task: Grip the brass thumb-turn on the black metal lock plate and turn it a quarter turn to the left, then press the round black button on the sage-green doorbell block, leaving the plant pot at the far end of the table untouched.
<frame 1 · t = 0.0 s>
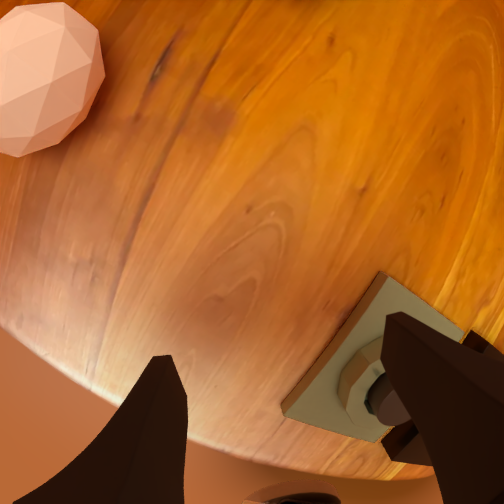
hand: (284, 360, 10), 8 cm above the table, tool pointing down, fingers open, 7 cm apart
bell button: (398, 396, 16), point 3 cm above the table, slide at 0.1 cm
lock plate: (452, 401, 22), on the table
geometric ball: (64, 93, 14), on the table
doorbell: (376, 367, 20), on the table
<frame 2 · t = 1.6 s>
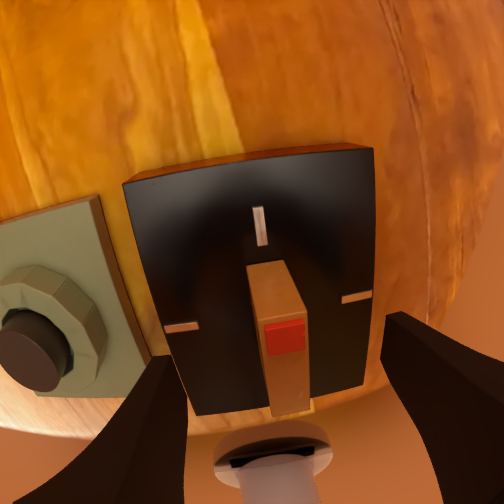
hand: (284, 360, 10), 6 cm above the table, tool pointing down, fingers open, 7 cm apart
lock turn: (279, 341, 11), point 4 cm above the table, hinge at 0.0°
bell button: (31, 352, 11), point 3 cm above the table, slide at 0.1 cm
lock plate: (262, 282, 15), on the table
doorbell: (58, 311, 14), on the table
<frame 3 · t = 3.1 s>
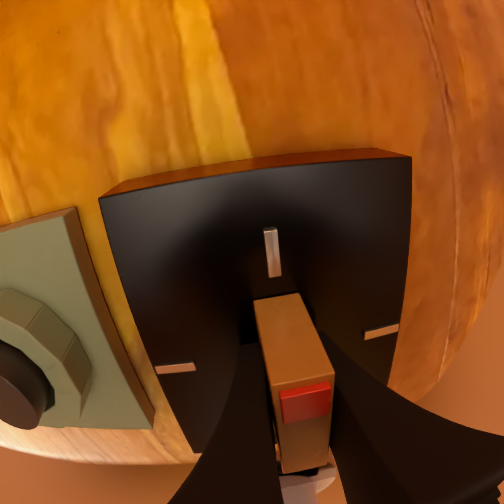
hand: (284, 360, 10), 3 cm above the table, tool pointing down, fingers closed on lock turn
lock turn: (293, 391, 9), point 4 cm above the table, hinge at 0.5°, touching gripper
bell button: (8, 386, 9), point 3 cm above the table, slide at 0.1 cm
lock plate: (270, 311, 13), on the table
doorbell: (38, 336, 12), on the table
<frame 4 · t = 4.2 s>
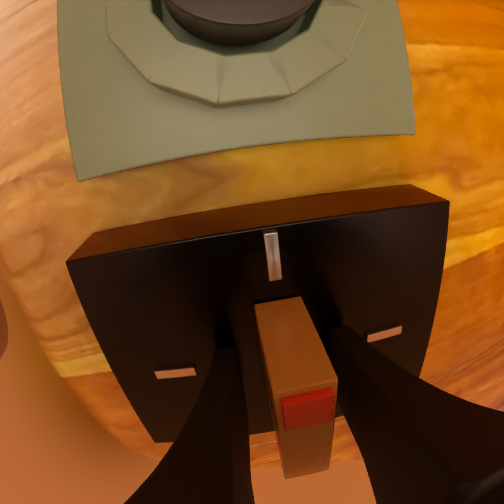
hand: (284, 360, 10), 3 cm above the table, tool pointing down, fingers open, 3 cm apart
lock turn: (294, 396, 8), point 4 cm above the table, hinge at 90.0°
lock plate: (271, 313, 12), on the table
doorbell: (231, 16, 8), on the table
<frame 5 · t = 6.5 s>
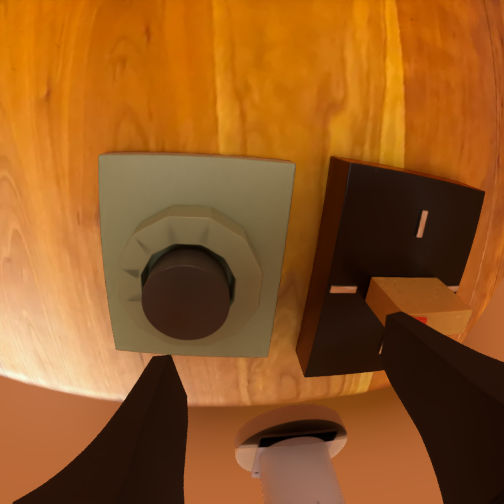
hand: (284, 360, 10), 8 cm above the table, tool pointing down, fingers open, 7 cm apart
lock turn: (420, 307, 14), point 4 cm above the table, hinge at 90.0°
bell button: (186, 294, 13), point 3 cm above the table, slide at 0.1 cm
lock plate: (382, 268, 18), on the table
doorbell: (191, 260, 16), on the table
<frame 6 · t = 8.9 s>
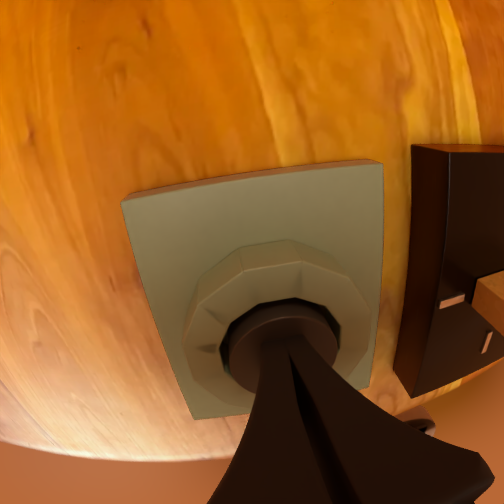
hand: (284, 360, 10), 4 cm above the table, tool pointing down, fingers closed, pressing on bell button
bell button: (280, 345, 11), point 3 cm above the table, slide at -0.7 cm, touching gripper
lock plate: (473, 260, 14), on the table
doorbell: (269, 304, 13), on the table
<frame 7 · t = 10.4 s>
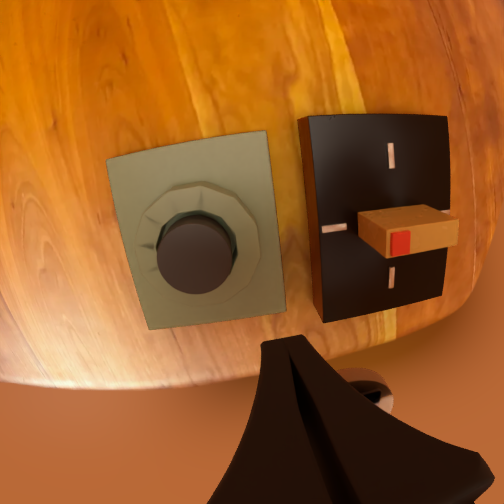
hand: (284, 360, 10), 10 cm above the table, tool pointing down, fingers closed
lock turn: (409, 228, 15), point 4 cm above the table, hinge at 90.0°
bell button: (195, 254, 16), point 3 cm above the table, slide at 0.1 cm
lock plate: (374, 209, 19), on the table
doorbell: (200, 234, 19), on the table
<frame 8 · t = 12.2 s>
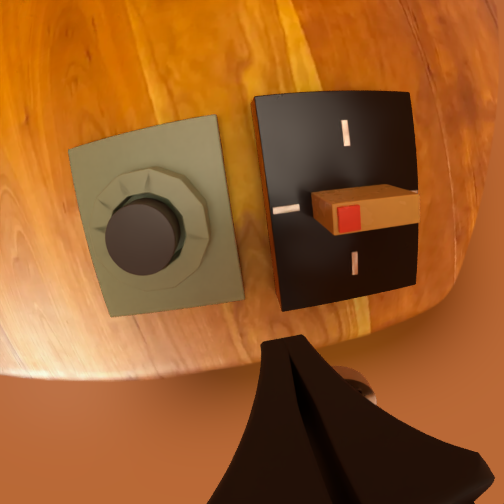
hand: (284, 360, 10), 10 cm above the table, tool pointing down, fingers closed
lock turn: (365, 206, 15), point 4 cm above the table, hinge at 90.0°
bell button: (143, 236, 15), point 3 cm above the table, slide at 0.1 cm
lock plate: (336, 193, 19), on the table
doorbell: (157, 220, 19), on the table
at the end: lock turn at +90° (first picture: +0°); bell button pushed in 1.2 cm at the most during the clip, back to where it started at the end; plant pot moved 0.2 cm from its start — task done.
